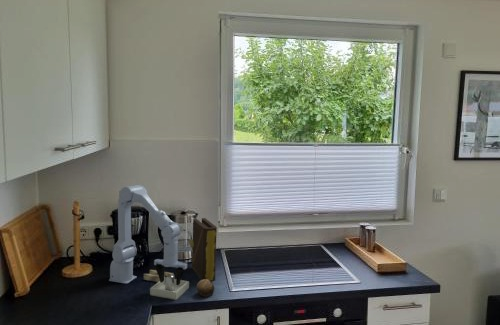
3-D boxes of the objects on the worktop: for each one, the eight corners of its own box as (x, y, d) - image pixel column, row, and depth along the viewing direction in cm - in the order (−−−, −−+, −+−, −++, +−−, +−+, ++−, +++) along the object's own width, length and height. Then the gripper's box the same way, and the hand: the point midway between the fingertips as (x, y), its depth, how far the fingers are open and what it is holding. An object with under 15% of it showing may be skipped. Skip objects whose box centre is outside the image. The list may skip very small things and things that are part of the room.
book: (218, 280, 174) (220, 227, 172) (201, 283, 171) (202, 229, 169) (204, 264, 194) (205, 216, 192) (188, 266, 191) (189, 217, 188)
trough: (143, 279, 172) (143, 274, 172) (150, 274, 178) (150, 269, 178) (167, 283, 169) (167, 278, 169) (173, 278, 175) (173, 273, 174)
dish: (150, 295, 157) (150, 288, 156) (164, 284, 168) (164, 277, 168) (176, 299, 154) (176, 292, 153) (188, 288, 165) (188, 281, 165)
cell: (163, 291, 159) (163, 275, 159) (167, 287, 163) (168, 272, 163) (171, 292, 158) (171, 276, 158) (176, 289, 162) (176, 273, 161)
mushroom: (193, 282, 163) (199, 274, 160) (209, 287, 166) (216, 279, 163) (192, 298, 156) (199, 289, 154) (209, 303, 159) (216, 294, 157)
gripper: (150, 252, 157) (150, 284, 159) (182, 257, 154) (181, 289, 155) (159, 247, 164) (158, 277, 165) (189, 251, 160) (188, 282, 162)
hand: (170, 282), depth 161 cm, fingers open, 7 cm apart
